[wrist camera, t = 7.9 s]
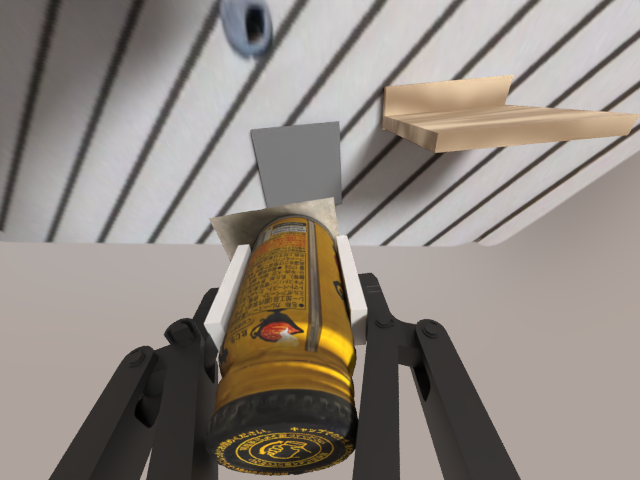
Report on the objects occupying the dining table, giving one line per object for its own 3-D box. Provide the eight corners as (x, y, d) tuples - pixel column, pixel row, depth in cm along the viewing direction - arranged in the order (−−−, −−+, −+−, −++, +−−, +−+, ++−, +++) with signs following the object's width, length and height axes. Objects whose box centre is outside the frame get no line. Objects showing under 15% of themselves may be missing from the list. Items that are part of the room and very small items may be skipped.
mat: (251, 129, 32) (250, 130, 32) (338, 121, 32) (339, 121, 32) (268, 209, 39) (268, 210, 38) (341, 202, 39) (341, 203, 38)
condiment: (344, 276, 20) (385, 474, 9) (245, 291, 20) (183, 498, 10) (333, 195, 16) (384, 385, 6) (210, 215, 16) (48, 430, 6)
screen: (384, 86, 30) (447, 83, 17) (507, 75, 30) (669, 63, 17) (381, 129, 33) (434, 155, 19) (495, 118, 33) (626, 138, 19)
